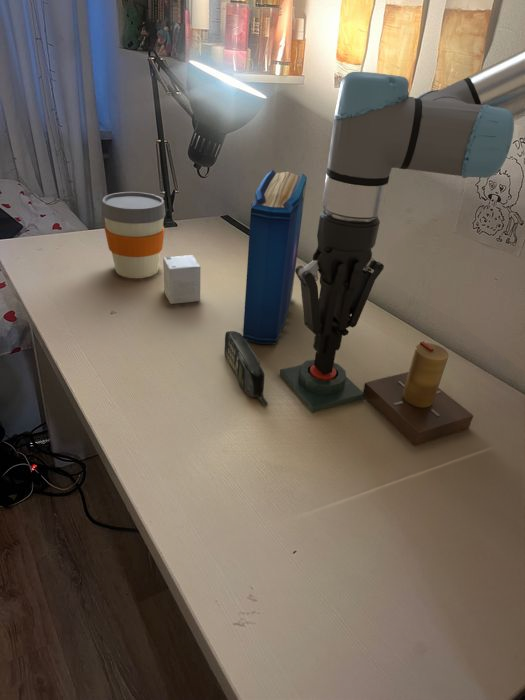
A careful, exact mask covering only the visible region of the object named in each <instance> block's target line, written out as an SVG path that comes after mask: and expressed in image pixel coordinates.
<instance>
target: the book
mask: <svg viewBox="0 0 525 700" xmlns="http://www.w3.org/2000/svg"><path fill="white" fill-rule="evenodd" d="M307 178H308V177H307V175H305V174H304V173H302V174H299V175H297V174H294V173H292V172H290V171H283V172H276V171H275V170H274V169H272V170H270V171H268V172H267V173H266V174H265V176H264V177H263V179H261V182H260V183H259V185H258V187H257V189H256V191H255V193H254V194H255V195H254V201H253V202H251V203H250V219H249V233H248V250H247V264H246V265H247V266H246V281H245V297H244V314H243V328H242V336H243V337H244V338H245V340H246V341H248V342H252V343H255V344H258V345H274V344H277V343H278V340H279V339H280V338H281V333H282V332H281V331H282V330H283V328H284V327H285V324H286V321H287V317H288V313H289V311H290V306H291V301H292V297H293V291H294V284H295V275H296V272H295V270H296V268H297V259H298V251H299V244H300V234H301V227H302V218H303V210H304V203H305V195H306V189H307V188H306V187H307Z"/></svg>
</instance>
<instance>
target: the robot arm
mask: <svg viewBox="0 0 525 700" xmlns="http://www.w3.org/2000/svg"><path fill="white" fill-rule="evenodd" d="M409 85H410V82H409V80H408V78H407V77H406V76H401V75H396V74H395V75H394V74H386V73H378V72H369V71H351V72H349V73H347V74H346V75H345V76H344V77H343V78H342V79H341V82H340V85H339V90H338V91H339V92H338V94H337V101H336V106H335V111H334V115H333V123H332V131H331V136H330V137H331V138H330V145H329V152H328V159H327V160H328V161H327V167H326V168H327V169H326V174H325V181H324V187H323V196H322V201H321V206H322V208H323V210H322V211H321V212H320V214H319V220H318V227H317V233H316V239H317V247H316V250H315V252H314V253H313V255H312V261H310V262H309V263H308V264H306V265H305V266H302V265H298V266H296V268H295V275H296V276H297V278H298V280H299V282H300V291H301V302H302V313H303V322H304V323H303V324H304V326H305V327H306V328H307V329H308V330H310V331H311V333H313V334H314V339H313V350H314V351H315V356H314V359H315V362H314V365H315V366H316V367H317V369H318V370H319V371H320V372H321V373H322V374H323V375H324V374H328V373H332V369H333V364H334V363H335V358H336V352H337V351H339V350H340V348H341V344H342V340H343V337H345V336H348V334H349V333H350V331H349V330H348V328H355V327H356V326H357V325H358V322H359V320H360V318H361V315H362V312H363V310H364V308H365V306H366V303H367V301H368V298H369V296H370V293H371V291H372V289H373V287H374V284H375V281H376V280H377V279H378V277H379V275H381V273H382V271H383V270H384V268H385V265H384V263H381V261H378V260H377V259H375V258H374V257H373V252H372V249H373V248H374V247H375V245H376V242H377V238H378V233H379V228H380V224H381V220H380V219H379V217H381V215H382V214H383V210H384V205H385V200H386V196H387V190H388V185H389V181H390V175H391V172H392V170H393V169H394V168H395V169H400V170H409V171H418V172H419V171H420V172H425V173H433V174H434V173H435V174H442V175H448V176H457V177H461V178H463V179H466V178H480V179H481V178H483V179H487V178H492V177H494V176H495V175H496V174H497V173H498V172H499V171H500V170H501V168H502V167H503V165H504V164H505V162H506V160H507V157H508V155H509V153H510V149H511V146H512V142H513V138H514V137H513V136H514V131H515V121H517V120H519V119H521V118H524V117H525V49H523V50H521V51H519V52H516V53H515V54H512V55H510V56H508V57H506V58H504V59H502V60H499V61H497V62H496V63H494V64H491V65H489V66H487V67H485V68H483V69H481V70H478V71H477V72H475V73H473V74H471V75H468V76H467V77H465V78H464V79H461V80H458V81H456V82H453V83H452V84H450V85H447V86H445V87H443V88H441V89H434V90H429V91H427V92H424V93H422V94H420V95H419V96H417V97H413V96H409V94H410V93H409V87H410V86H409ZM318 274H319V275H320V277H319V276H318ZM318 280H319V285H320V288H319V287H318V283H317V281H318ZM319 289H320V290H319Z"/></svg>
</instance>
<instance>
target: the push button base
mask: <svg viewBox="0 0 525 700" xmlns="http://www.w3.org/2000/svg"><path fill="white" fill-rule="evenodd" d="M314 362H315V358H313V359H310V360H306V361H304V362H303V363H302V364H300V365H294V366H290V367H285V368H281V369H279V373H278V375H279V377H280V378H281V380H283V382H284V383H285V384H286V385H287V386H288V388H289V389H290V390H291V391H292V392H293V393H294V395H295V396H296V397H297V398H298V399H299V400H300V401H301V403H302V404H303V405H304V406H305V407H306V408H307V410H308V411H309V412H310V413H311V414H315V413H319V412H322V411H327V410H330V409H334V408H337V407H341V406H346V405H349V404H354V403H358V402H361V401H363V400H364V399H365V398H364V393H363V390H361V389H360V388H359V387H358V386H357V385H356V384H355V383H354V382H352V380H351V379H349V377H348V376H347V374H346V370H345V369H344V367H342V366H341V365H340V364H339V363H337V362H334V364H333V367H334V368H335V369H336V378H335V379H333V380H329V381H325V380H318V379H316V378H314V377H312V376H311V375H310V374H309V371H310V367H311V366H312V365H313V364H314Z"/></svg>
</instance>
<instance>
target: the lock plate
mask: <svg viewBox="0 0 525 700" xmlns="http://www.w3.org/2000/svg"><path fill="white" fill-rule="evenodd" d="M408 373H409V371H407V372H403V373H398V374H395V375H390V376H386V377H382V378H378V379H374V380H370V381H365V382H364V385H363V390H362V392H363V393H364V398H363V399H365V400H366V401H367V402H368V403H369V404H370V405H371V406H372V407H373V408H374V409H375V410H376V411H377V412H378V413H379V414H380V415H382V416H383V417H384V419H386V420H387V421H388V422H389V423H390V424H391V425H392V426H393V427H394V428H395V429H396V430H397V431H398V432H399V433H400V434H401V435H402V436H403V437H404V438H405V439H406V440H407V441H408V442H410V444H411V445H412V446H413V447H418V446H421V445H424V444H427V443H430V442H433V441H436V440H440V439H442V438H445V437H448V436H452V435H455V434H457V433H461V432H463V431H468V430H469V429H470V426H471V423H472V421H473V418H474V414H472V413H471V412H470V411H469V410H467V408H465V407H463V406H462V405H461V404H460V403H459V402H457V401H456V400H455V399H453V398H452V397H451V396H450V395H449V394H447V393H446V392H445V391H443V390H442V389H441V388H440V387H438V390H437V393H436V396H435V399H434V402H433V404H432V405H431V406H429V407H417V406H413V405H411V404H409V403H408V402H406V401H405V399H404V398H403V390H404V387H405V383H406V380H407V376H408Z"/></svg>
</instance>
